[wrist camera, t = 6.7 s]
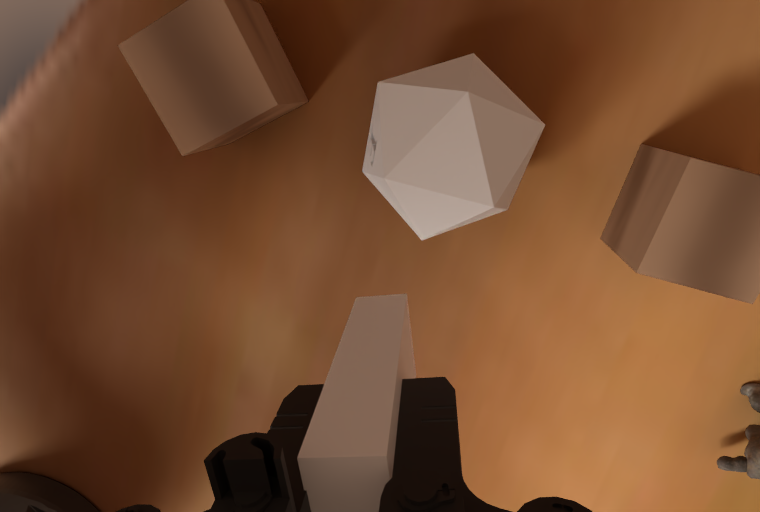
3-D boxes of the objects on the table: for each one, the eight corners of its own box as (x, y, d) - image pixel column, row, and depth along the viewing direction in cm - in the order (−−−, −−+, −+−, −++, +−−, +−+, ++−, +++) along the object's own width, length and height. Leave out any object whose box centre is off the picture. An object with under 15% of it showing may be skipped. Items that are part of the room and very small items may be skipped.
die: (457, 26, 27) (328, 49, 21) (598, 89, 24) (493, 140, 17) (422, 154, 33) (313, 203, 27) (532, 222, 29) (434, 296, 23)
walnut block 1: (229, 143, 31) (182, 156, 25) (179, 53, 29) (117, 45, 24) (309, 101, 29) (277, 104, 24) (260, 4, 28) (215, -17, 22)
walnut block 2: (599, 238, 30) (636, 272, 24) (640, 143, 28) (690, 157, 22) (694, 263, 30) (752, 304, 24) (742, 169, 28) (818, 190, 22)
